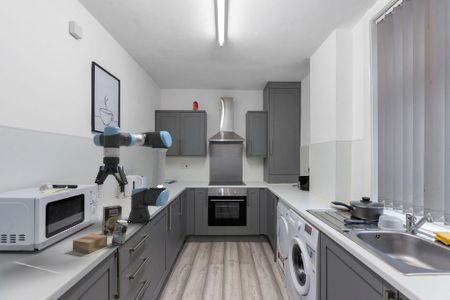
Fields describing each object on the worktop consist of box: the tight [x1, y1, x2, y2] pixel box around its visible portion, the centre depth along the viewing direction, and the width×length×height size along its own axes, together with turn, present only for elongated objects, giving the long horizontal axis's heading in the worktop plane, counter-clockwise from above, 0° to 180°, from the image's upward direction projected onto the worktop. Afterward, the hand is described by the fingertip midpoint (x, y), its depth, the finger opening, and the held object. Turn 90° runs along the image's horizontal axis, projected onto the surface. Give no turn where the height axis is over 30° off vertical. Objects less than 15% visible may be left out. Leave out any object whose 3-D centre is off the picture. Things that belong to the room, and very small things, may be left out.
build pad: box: [65, 243, 114, 258], centre depth 105 cm, size 14×14×1 cm
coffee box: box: [101, 204, 123, 237], centre depth 127 cm, size 9×6×16 cm
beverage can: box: [111, 219, 129, 246], centre depth 112 cm, size 6×7×12 cm
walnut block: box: [72, 233, 108, 254], centre depth 105 cm, size 10×10×5 cm
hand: (110, 198), depth 110 cm, fingers open, 13 cm apart
